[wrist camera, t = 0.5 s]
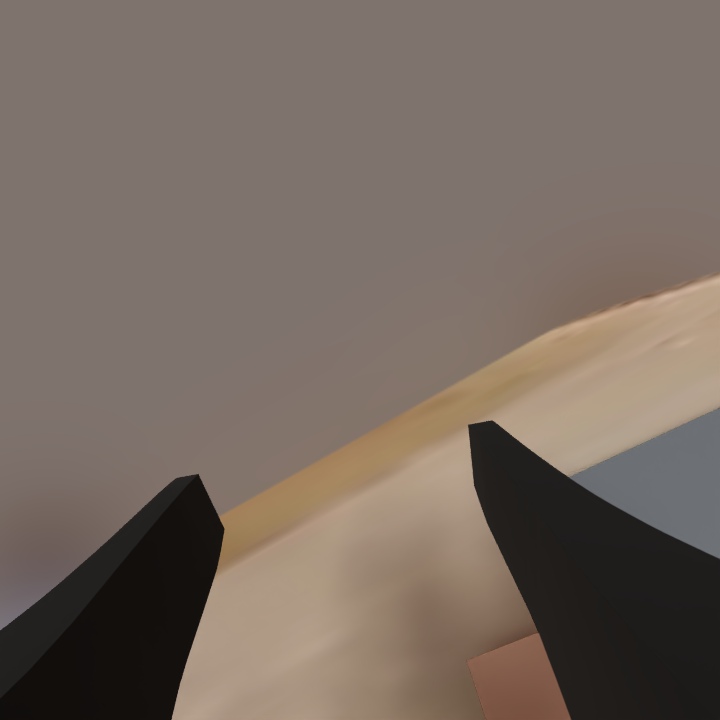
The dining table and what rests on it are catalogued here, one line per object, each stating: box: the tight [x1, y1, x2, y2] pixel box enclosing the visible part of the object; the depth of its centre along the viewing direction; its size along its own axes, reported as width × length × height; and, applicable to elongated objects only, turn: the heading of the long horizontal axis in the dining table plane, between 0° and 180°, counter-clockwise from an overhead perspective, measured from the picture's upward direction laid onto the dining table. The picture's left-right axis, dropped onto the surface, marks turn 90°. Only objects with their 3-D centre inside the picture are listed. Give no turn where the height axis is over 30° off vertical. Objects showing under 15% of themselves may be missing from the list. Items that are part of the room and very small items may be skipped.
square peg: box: [467, 633, 571, 720], centre depth 16 cm, size 4×4×6 cm
